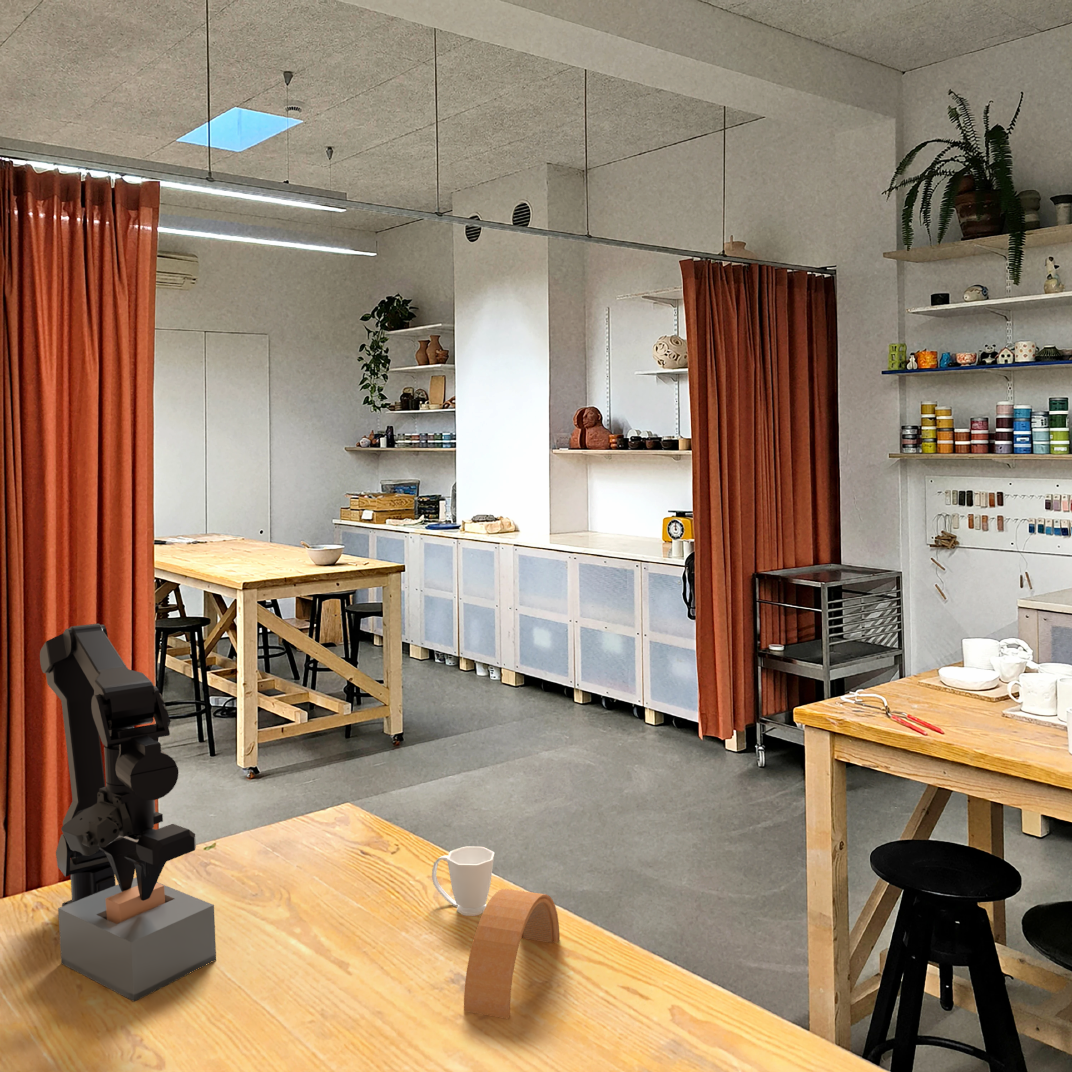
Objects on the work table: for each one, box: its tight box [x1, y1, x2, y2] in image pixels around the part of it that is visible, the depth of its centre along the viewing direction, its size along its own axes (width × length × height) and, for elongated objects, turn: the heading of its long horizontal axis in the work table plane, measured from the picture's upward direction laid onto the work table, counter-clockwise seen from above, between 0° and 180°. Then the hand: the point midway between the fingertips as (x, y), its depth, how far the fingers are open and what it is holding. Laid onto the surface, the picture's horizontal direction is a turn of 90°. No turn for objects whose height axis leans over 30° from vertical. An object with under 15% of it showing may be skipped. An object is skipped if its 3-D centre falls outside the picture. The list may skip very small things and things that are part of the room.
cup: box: [431, 845, 495, 917], centre depth 149 cm, size 7×10×8 cm
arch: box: [463, 888, 561, 1020], centre depth 130 cm, size 6×20×10 cm, turn 161°
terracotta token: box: [106, 882, 165, 924], centre depth 134 cm, size 3×6×4 cm, turn 144°
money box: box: [57, 877, 217, 1002], centre depth 134 cm, size 16×12×8 cm
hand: (135, 895), depth 134 cm, fingers open, 4 cm apart
